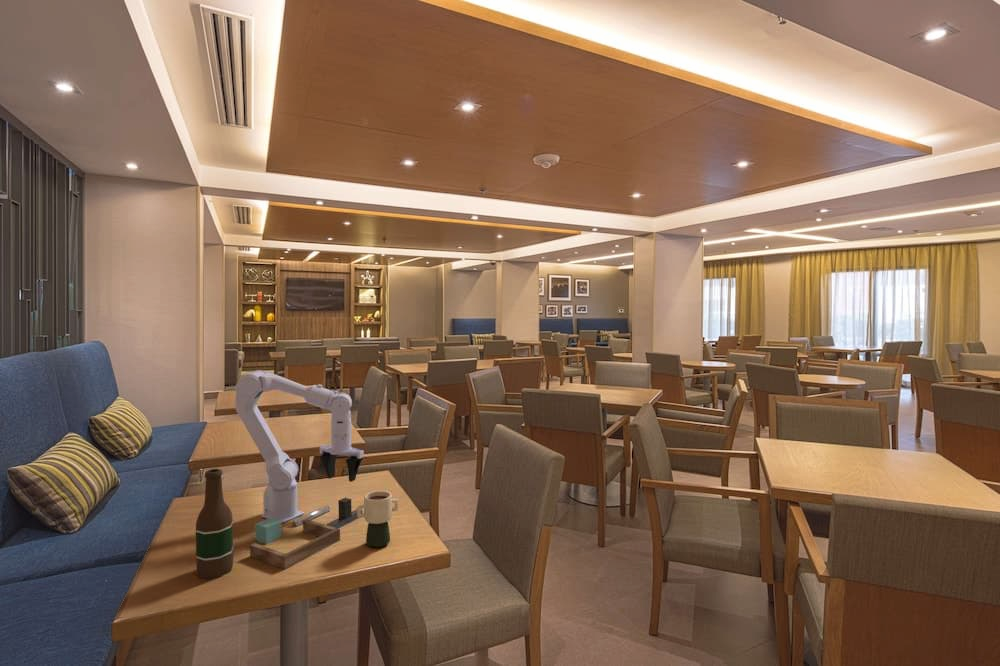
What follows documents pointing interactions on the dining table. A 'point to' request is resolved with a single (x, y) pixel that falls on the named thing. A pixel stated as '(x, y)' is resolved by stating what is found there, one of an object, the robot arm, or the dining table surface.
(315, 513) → the steel rod
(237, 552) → the dining table surface
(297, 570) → the dining table surface
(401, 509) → the dining table surface
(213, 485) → the beer bottle
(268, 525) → the teal block
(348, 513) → the dark grey bar
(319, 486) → the dining table surface
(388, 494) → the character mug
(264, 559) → the wooden u-shaped frame
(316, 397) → the robot arm
